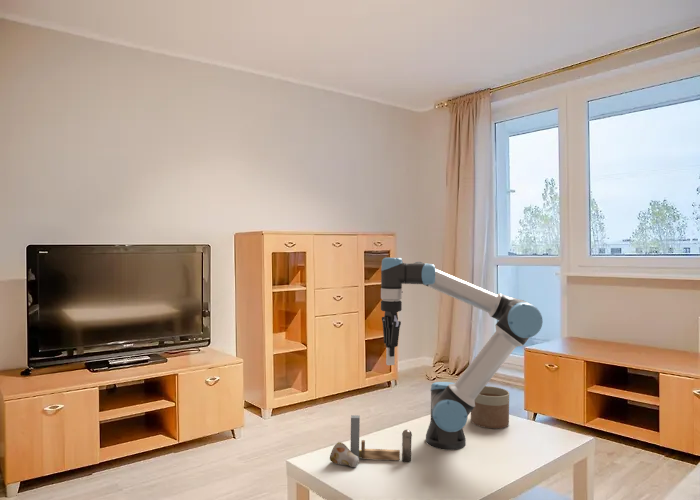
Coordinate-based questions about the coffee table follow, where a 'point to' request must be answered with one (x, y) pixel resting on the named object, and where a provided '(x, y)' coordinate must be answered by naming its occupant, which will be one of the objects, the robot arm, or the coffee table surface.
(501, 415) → the planter
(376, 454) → the gate
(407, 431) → the hinge post
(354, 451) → the post
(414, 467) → the coffee table surface
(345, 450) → the white floral pitcher
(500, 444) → the coffee table surface
